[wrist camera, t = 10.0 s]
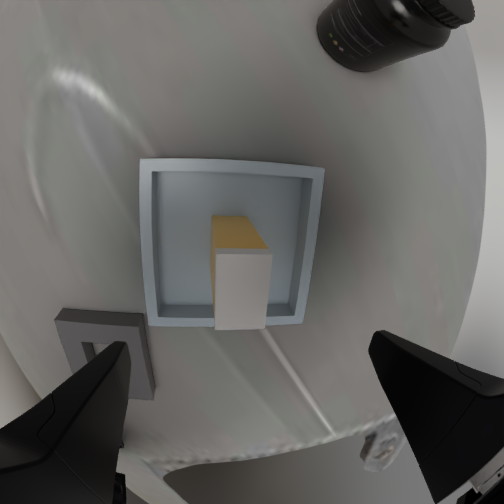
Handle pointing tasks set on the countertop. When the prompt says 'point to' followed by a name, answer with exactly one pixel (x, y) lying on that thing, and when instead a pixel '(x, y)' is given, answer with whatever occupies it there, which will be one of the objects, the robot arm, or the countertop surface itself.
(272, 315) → the parts tray
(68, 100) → the countertop surface
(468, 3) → the supplement bottle
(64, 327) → the block
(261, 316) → the block
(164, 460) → the countertop surface
